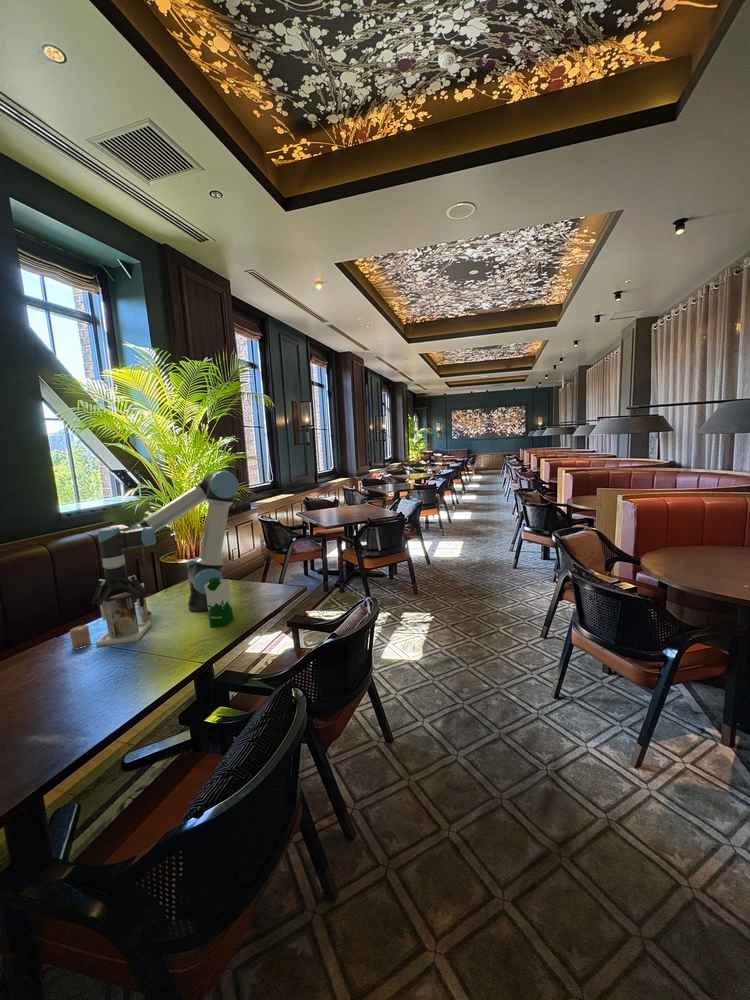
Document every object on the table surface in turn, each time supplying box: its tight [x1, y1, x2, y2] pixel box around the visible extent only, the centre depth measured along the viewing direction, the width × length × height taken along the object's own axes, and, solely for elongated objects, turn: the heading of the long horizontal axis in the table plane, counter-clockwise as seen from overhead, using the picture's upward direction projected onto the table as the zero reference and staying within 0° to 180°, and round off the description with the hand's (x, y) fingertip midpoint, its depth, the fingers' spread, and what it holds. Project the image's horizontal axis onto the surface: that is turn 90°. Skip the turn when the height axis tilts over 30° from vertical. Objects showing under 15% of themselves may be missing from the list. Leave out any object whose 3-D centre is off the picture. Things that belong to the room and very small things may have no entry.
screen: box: [139, 582, 152, 623], centre depth 186 cm, size 4×18×14 cm, turn 28°
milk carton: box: [204, 578, 234, 628], centre depth 175 cm, size 9×9×20 cm
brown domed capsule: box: [69, 624, 92, 649], centre depth 163 cm, size 6×6×7 cm
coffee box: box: [102, 591, 139, 639], centre depth 169 cm, size 9×6×16 cm
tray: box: [95, 620, 152, 647], centre depth 170 cm, size 15×15×2 cm
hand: (123, 616), depth 170 cm, fingers open, 13 cm apart
